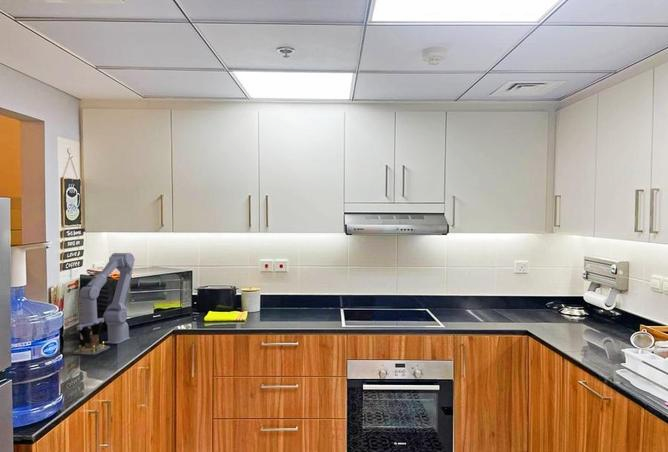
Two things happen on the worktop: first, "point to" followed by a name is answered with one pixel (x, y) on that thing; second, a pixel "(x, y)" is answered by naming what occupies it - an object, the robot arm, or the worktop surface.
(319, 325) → the worktop surface
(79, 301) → the cracker box
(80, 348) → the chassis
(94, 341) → the brown boxy piece
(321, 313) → the worktop surface
